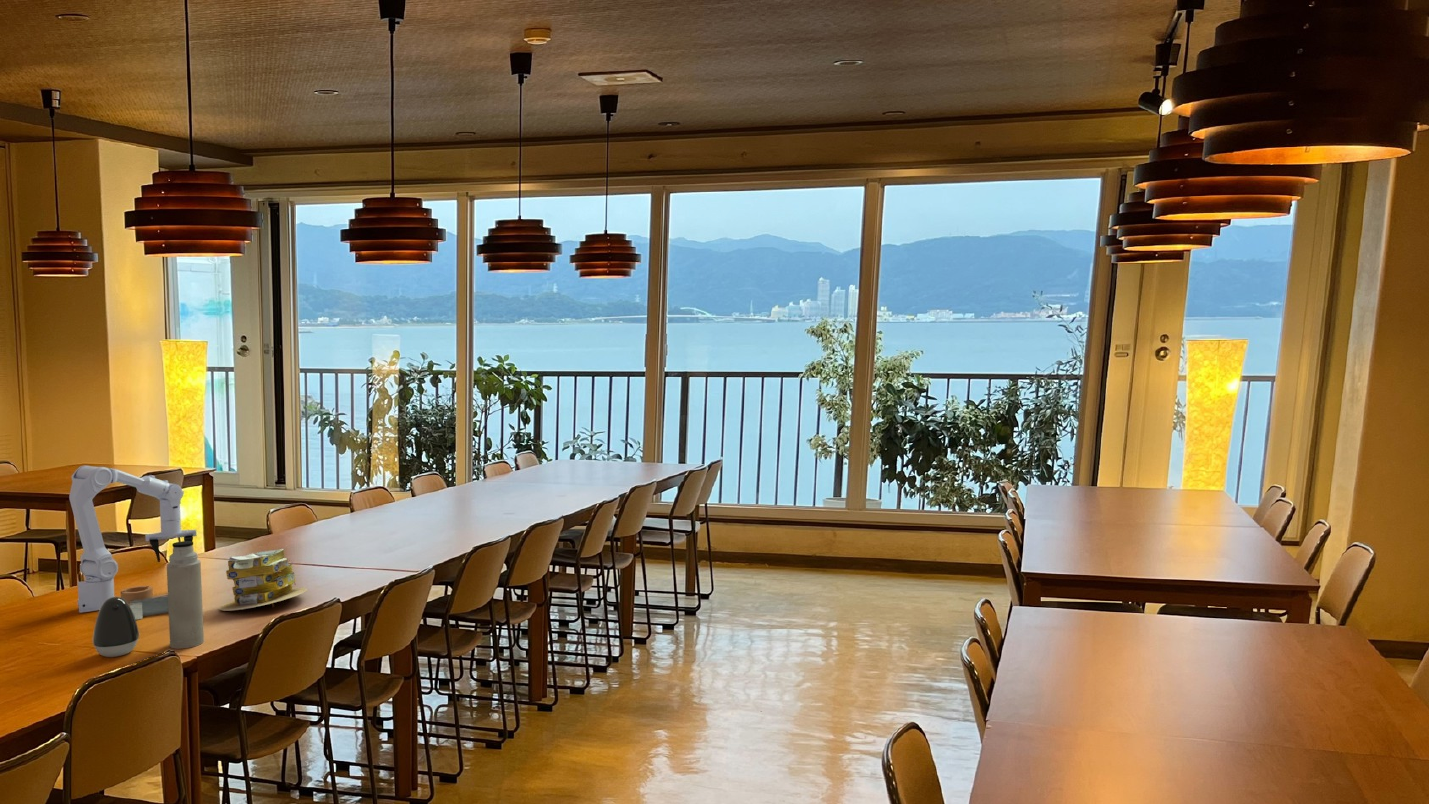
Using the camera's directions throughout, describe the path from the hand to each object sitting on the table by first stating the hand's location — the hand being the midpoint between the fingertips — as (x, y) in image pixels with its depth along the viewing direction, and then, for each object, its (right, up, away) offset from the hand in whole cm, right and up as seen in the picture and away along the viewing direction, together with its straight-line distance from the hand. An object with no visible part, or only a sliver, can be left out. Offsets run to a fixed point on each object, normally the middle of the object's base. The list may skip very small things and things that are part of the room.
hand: (172, 559), depth 306 cm
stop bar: (+14, -12, -28) cm, 33 cm away
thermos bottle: (+37, -14, -55) cm, 68 cm away
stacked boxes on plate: (+39, -11, -17) cm, 44 cm away
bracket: (+6, -12, -20) cm, 24 cm away
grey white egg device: (+23, -14, -63) cm, 69 cm away
